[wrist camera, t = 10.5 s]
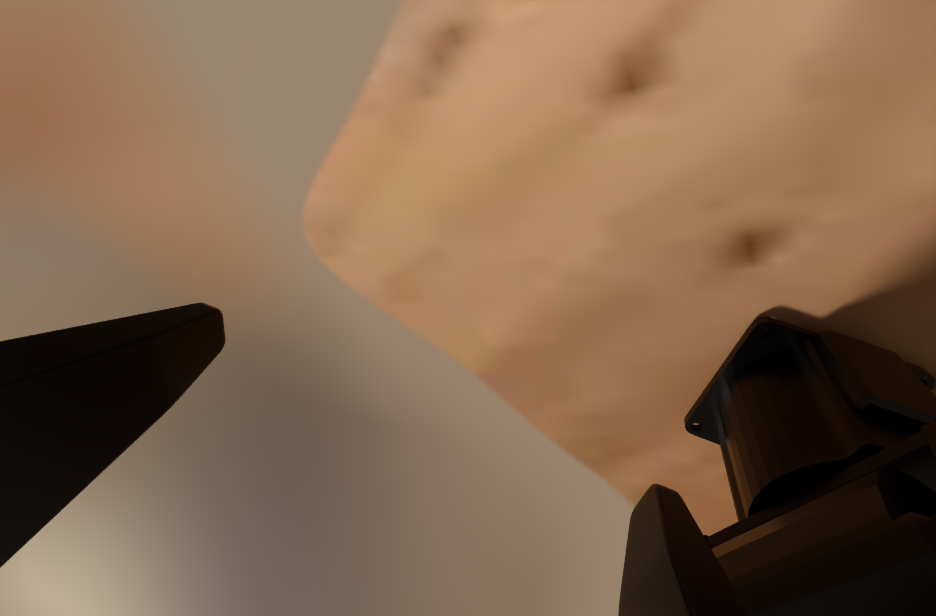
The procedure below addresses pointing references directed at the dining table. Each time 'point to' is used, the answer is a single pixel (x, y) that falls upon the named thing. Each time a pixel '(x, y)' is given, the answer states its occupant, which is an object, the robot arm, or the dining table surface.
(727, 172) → the dining table surface
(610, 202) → the dining table surface
